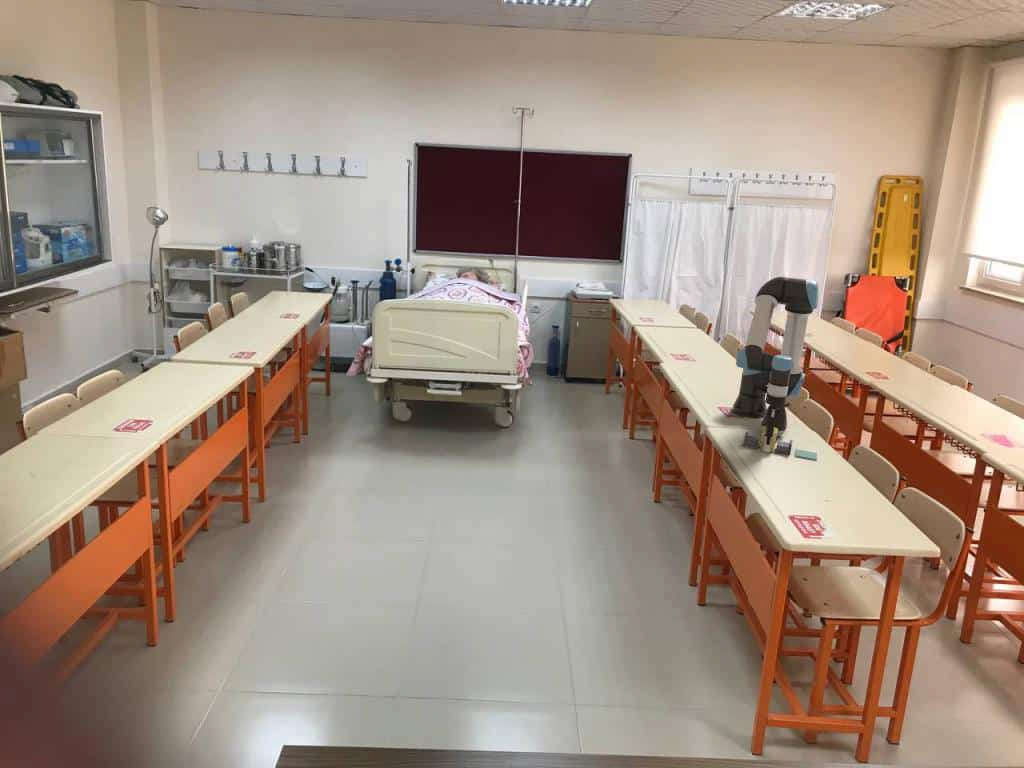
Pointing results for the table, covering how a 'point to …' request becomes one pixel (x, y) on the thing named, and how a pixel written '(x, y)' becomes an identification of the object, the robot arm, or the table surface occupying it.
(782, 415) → the pump dispenser
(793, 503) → the table surface
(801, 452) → the rubber pad
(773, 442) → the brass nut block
